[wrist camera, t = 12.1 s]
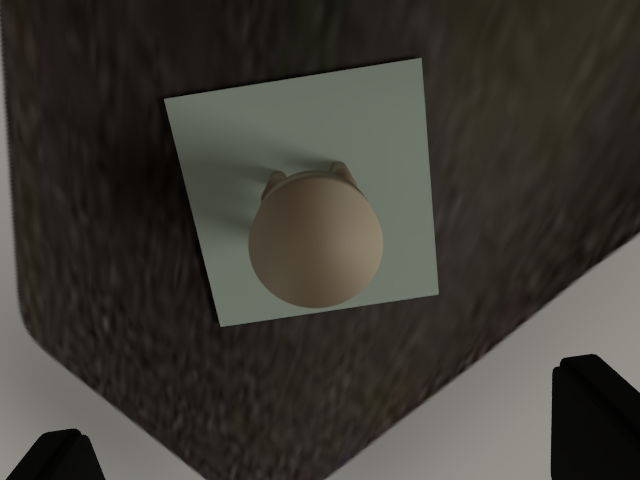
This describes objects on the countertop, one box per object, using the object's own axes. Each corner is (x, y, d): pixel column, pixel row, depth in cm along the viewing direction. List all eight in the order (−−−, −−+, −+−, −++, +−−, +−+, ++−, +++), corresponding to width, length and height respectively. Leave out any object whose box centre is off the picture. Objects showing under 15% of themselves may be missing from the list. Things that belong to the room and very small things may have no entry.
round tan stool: (354, 148, 28) (375, 170, 20) (366, 241, 30) (389, 298, 22) (256, 163, 28) (235, 192, 20) (274, 255, 30) (262, 317, 22)
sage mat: (419, 58, 27) (421, 57, 27) (436, 291, 32) (438, 294, 32) (166, 98, 28) (163, 99, 27) (221, 323, 33) (220, 326, 32)
